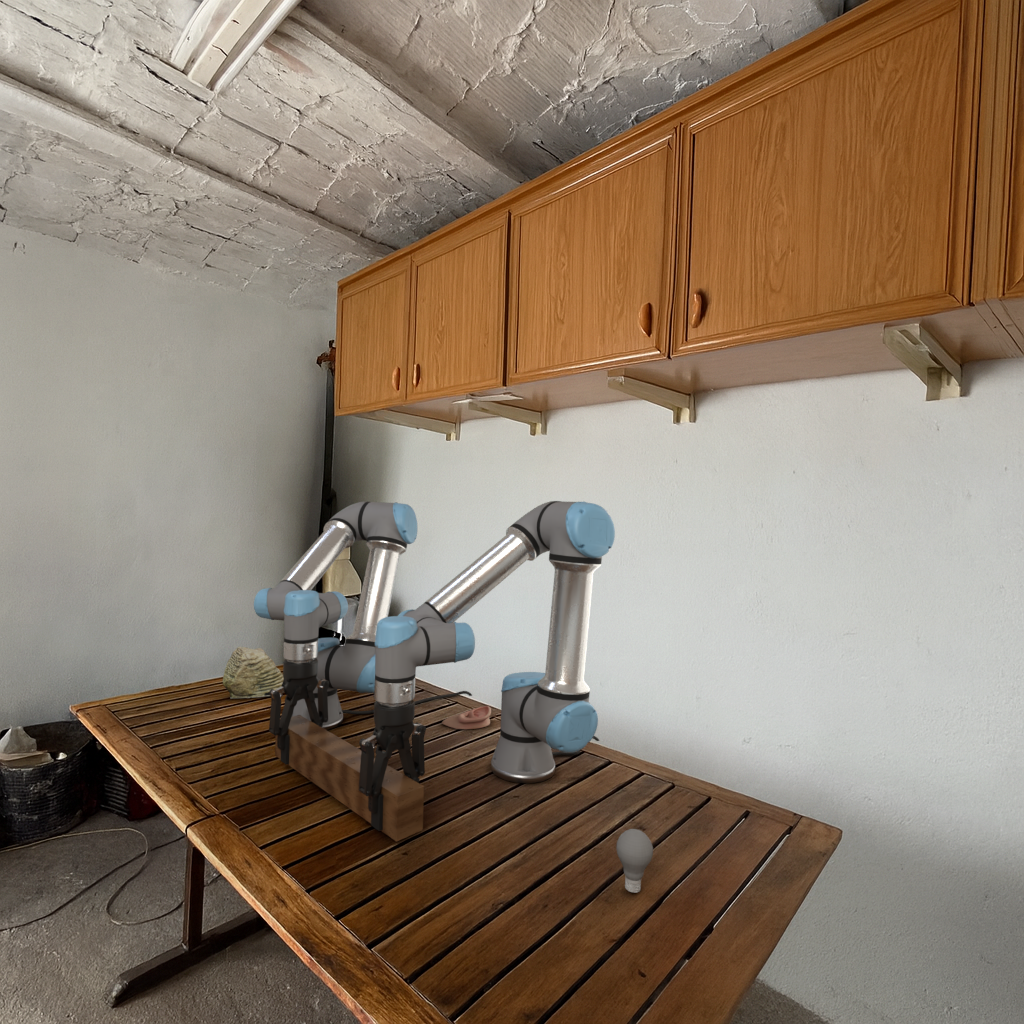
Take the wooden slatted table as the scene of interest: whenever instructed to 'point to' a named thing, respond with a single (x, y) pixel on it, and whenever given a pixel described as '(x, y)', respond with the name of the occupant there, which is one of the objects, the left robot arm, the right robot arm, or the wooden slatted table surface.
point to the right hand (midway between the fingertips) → (391, 820)
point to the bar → (353, 777)
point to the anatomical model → (470, 719)
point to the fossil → (251, 674)
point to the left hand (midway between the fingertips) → (298, 757)
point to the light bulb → (634, 857)
